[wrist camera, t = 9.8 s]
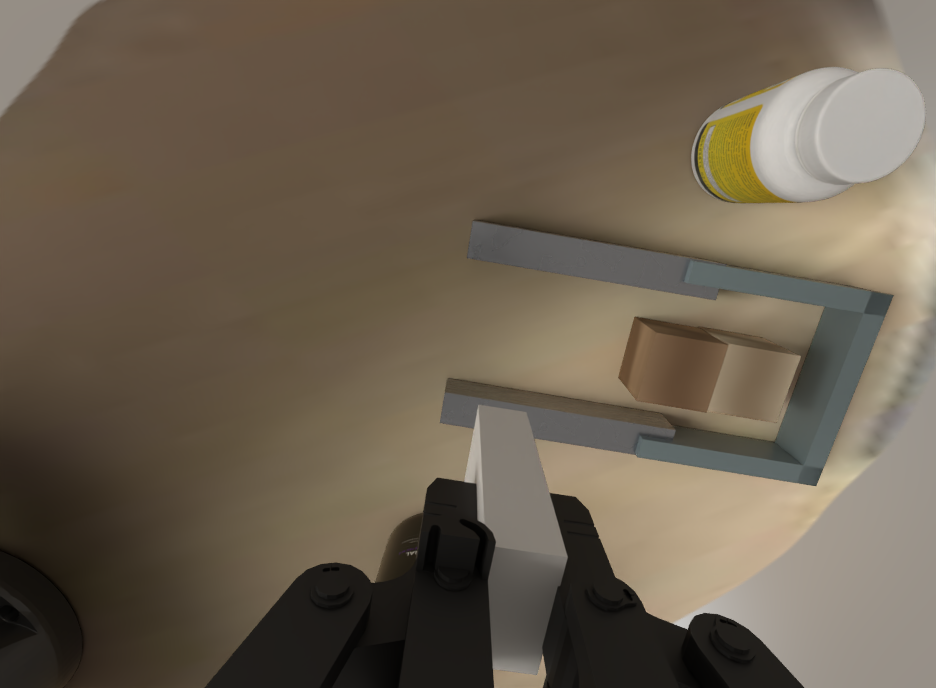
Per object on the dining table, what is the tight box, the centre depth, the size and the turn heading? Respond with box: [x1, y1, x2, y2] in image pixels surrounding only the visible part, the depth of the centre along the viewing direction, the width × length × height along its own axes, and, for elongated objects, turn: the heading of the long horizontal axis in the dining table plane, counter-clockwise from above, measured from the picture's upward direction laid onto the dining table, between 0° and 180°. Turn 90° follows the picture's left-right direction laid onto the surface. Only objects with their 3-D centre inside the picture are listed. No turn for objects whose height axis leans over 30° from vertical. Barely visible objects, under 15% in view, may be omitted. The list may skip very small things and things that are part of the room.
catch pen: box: [635, 260, 894, 486], centre depth 30 cm, size 11×12×3 cm
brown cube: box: [618, 317, 728, 413], centre depth 29 cm, size 4×4×4 cm
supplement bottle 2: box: [691, 67, 926, 203], centre depth 23 cm, size 5×5×10 cm
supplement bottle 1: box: [375, 513, 423, 583], centre depth 30 cm, size 7×7×12 cm
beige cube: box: [698, 327, 801, 423], centre depth 29 cm, size 4×4×4 cm
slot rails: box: [440, 220, 727, 455], centre depth 30 cm, size 14×12×2 cm
